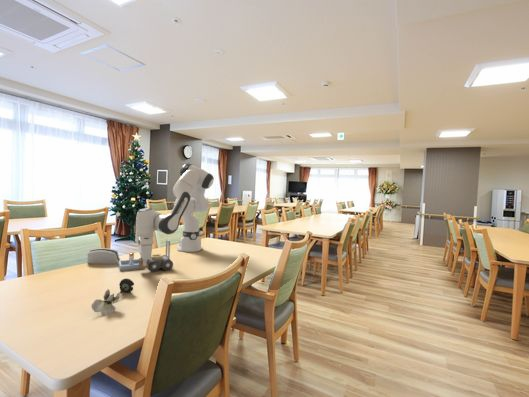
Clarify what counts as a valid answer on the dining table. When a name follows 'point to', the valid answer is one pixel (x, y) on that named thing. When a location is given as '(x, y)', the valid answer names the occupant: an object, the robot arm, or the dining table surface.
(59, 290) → the dining table surface
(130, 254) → the pin
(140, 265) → the chock
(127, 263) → the tray
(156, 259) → the trolley
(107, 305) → the artificial flower
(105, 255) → the grey curved block
